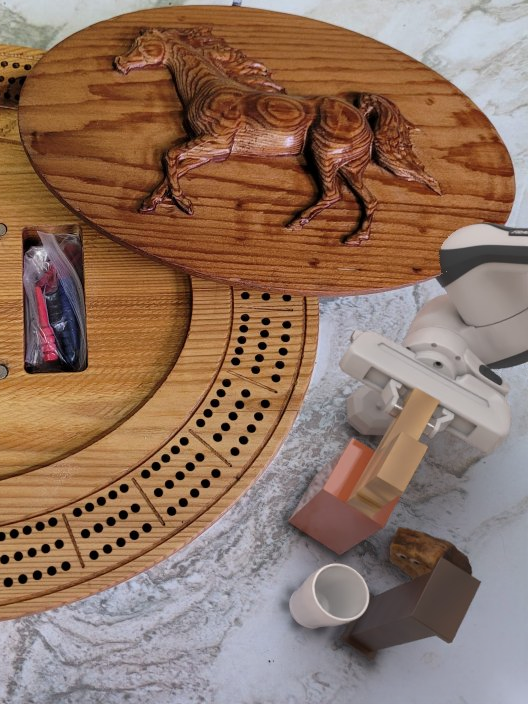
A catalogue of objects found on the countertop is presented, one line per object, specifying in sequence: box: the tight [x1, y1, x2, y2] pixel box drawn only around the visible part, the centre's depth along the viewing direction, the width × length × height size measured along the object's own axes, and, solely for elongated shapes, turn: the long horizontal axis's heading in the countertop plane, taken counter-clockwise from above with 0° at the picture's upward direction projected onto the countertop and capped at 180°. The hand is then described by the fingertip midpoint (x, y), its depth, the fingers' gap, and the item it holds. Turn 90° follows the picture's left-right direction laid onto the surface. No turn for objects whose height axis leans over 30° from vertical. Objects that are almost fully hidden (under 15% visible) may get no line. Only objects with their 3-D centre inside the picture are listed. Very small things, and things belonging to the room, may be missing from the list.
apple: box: [345, 384, 394, 436], centre depth 119 cm, size 8×8×7 cm
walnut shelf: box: [338, 557, 482, 662], centre depth 98 cm, size 4×8×26 cm, turn 144°
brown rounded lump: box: [389, 526, 473, 579], centre depth 108 cm, size 12×6×11 cm, turn 54°
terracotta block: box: [287, 437, 403, 556], centre depth 108 cm, size 8×8×18 cm
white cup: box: [288, 563, 370, 630], centre depth 104 cm, size 7×7×15 cm
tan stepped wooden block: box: [346, 388, 440, 518], centre depth 92 cm, size 3×16×10 cm, turn 144°
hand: (410, 421), depth 96 cm, fingers closed on tan stepped wooden block, 3 cm apart
